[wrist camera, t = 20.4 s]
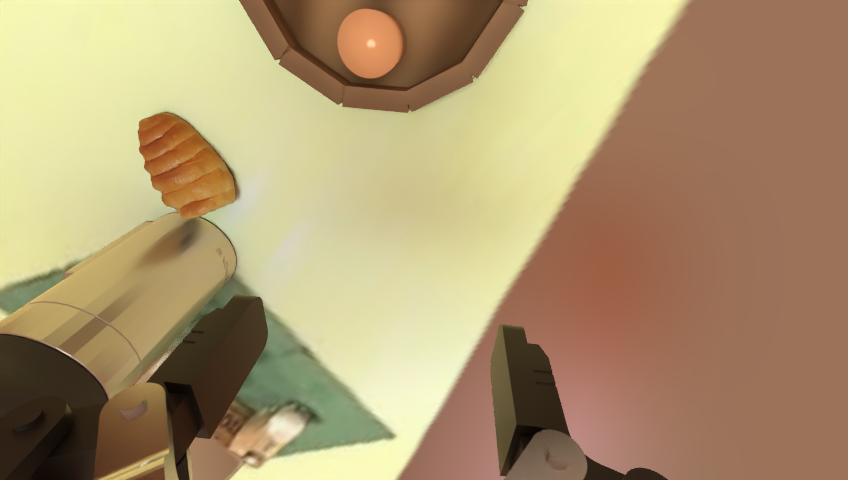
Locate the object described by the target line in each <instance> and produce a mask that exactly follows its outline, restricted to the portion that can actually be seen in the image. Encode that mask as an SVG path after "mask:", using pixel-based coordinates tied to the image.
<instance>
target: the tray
mask: <svg viewBox="0 0 848 480" xmlns="http://www.w3.org/2000/svg"><path fill="white" fill-rule="evenodd" d="M239 1H240V2H241V4H242V6H243V7H244V9H245V11H246V12H247V14H248V16H249V17H250V19H251V21H252V23H253V24H254V26H255V28H256V29H257V31H258V33H259V34H260V36H261V38H262V39H263V41H264V43H265V44H266V46H267V48H268V49H269V51H270V53H271V54H272V56H273V58H274V59H275V60H278V59H281V60H280V62H279V65H281V66H282V67H284V68H285V69H287V70H288V71H290V72H291V73H292V74H294V75H295V76H297V77H298V78H300V79H301V80H303V81H304V82H306V83H307V84H308V85H310V86H311V87H313V88H314V89H316V90H317V91H319V92H320V93H322V94H323V95H324V96H326V97H327V98H329V99H330V100H332V101H333V102H335V103H336V104H338V105H339V104H340V103H342V104H343V107H352V108H363V109H374V110H384V111H395V112H406V113H407V112H408V111H409V109H411V111H412V112H413V111H415V110H417V109H419V108H421V107H423V106H425V105H427V104H429V103H431V102H433V101H435V100H437V99H439V98H441V97H443V96H445V95H447V94H449V93H451V92H453V91H455V90H457V89H459V88H461V87H464V86H466V85H468V84H470V83H472V82H473V79H472V76H471V74H472V75H473V76H475V77H476V78H478V76H479V75H480V74H481V72H482V71H483V69H484V68H485V66H486V65H487V64H488V62H489V61H490V59H491V58H492V57H493V55H494V54H495V52H496V51H497V49H498V48H499V47H500V45H501V44H502V42H503V41H504V39H505V38H506V37H507V35H508V34H509V32H510V31H511V30H512V28H513V27H514V25H515V24H516V22H517V21H518V20H519V18H520V17H521V15H522V14H523V12H524V10H522V9H521V8H520V7H519V6H521V7H523V6H526V5H527V2H528V0H239ZM359 9H372V10H378V11H383V12H387V13H389V14H391V15H393V16H394V17H395V18H396V19H397V20H398V21H399V22H400V23H401V25H402V26H403V28H404V31H405V34H406V39H407V47H406V52H405V55H404V57H403V59H402V61H401V62H400V63H399V64H398V65H397V66H396V67H395V68H393V69H392V70H390V71H389V72H387V73H386V74H384V75H383V76H380V77H377V78H363V77H360V76H358V75H356V74H354V73H353V72H352V71H350V70H349V69H348V68H347V66H346V65H345V64H344V62H343V61H342V59H341V56H340V54H339V50H338V44H337V38H338V32H339V28H340V26H341V24H342V22H343V21H344V19H345V18H346V17H347V16H348V15H349V14H351V13H352V12H354V11H356V10H359Z"/></svg>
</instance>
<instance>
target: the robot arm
mask: <svg viewBox="0 0 848 480" xmlns="http://www.w3.org/2000/svg"><path fill="white" fill-rule="evenodd" d="M235 268H236V255H235V252H234V249H233V247H232V245H231V243H230V242H229V240H228V239H227V238H226V236H225V235H224V234H223V233H222V232H221V231H220V230H219V229H218V228H217V227H215V226H214V225H212V224H211V223H209V222H208V221H206V220H204V219H202V218H200V217H195V218H190V219H182V218H181V217H180V214H179V213H171V214H167V215H164V216H162V217H160V218H159V219H157V220H156V221H154V222H144V223H142V224H141V225H139V226H138V227H136V228H134V229H133V230H131V231H130V232H128V233H127V234H125V235H123V236H122V237H120V238H119V239H117V240H115V241H114V242H112V243H111V244H109V245H108V246H106V247H104V248H103V249H101V250H100V251H98V252H96V253H95V254H93V255H92V256H90V257H89V258H87V259H85V260H84V261H82V262H81V263H79V264H77V265H76V266H74V267H73V268H71V269H70V270H68V271H67V272H65V274H64V276H63V279H64V280H63V281H61V282H60V283H58V284H57V285H55V286H54V287H52V288H51V289H49V290H47V291H46V292H44V293H43V294H41V295H40V296H38V297H37V298H35V299H34V300H32V301H30V302H29V303H27V304H26V305H24V306H23V307H21V308H20V309H19V310H17V311H15V312H14V313H12V314H11V315H9V316H8V317H6V318H5V319H3V320H2V321H0V480H193V476H192V467H191V459H190V452H189V449H188V448H189V446H190V445H191V443H192V441H193V440H194V438H195V437H198V438H207V439H210V438H211V437H212V435H213V433H214V432H215V430H216V428H217V427H218V425H219V423H220V422H221V420H222V418H223V417H224V415H225V413H226V412H227V410H228V408H229V406H230V405H231V403H232V401H233V400H234V398H235V396H236V395H237V393H238V391H239V390H240V388H241V386H242V385H243V383H244V381H245V380H246V378H247V376H248V375H249V373H250V371H251V370H252V368H253V366H254V365H255V363H256V361H257V360H258V358H259V356H260V355H261V353H262V351H263V349H264V347H265V345H266V342H267V337H268V329H267V324H266V318H265V313H264V307H263V302H262V299H261V298H260V297H255V296H246V295H235V296H234V297H233V298H232V299H231V300H230V301H229V302H228V304H227V305H226V306H225V307H224V309H220V308H217V309H215V310H214V311H212V312H211V313H209V314H208V315H206V316H205V317H203V318H202V319H201V320H200V321H199V322H198V323H197V325H196V326H195V327H194V328H193V329H192V331H191V333H189V334H188V335H187V336H186V337H185V338H184V339H183V342H182V343H180V344H179V345H178V346H177V348H176V349H175V350H174V351H173V352H172V353H171V354H170V356H169V357H168V358H167V359H166V360H165V361H164V362H163V364H162V365H161V366H160V367H159V368H158V369H157V370H156V372H155V373H154V374H153V375H152V376H151V377H150V379H149V380H148V381H147V382H146V383H140V384H136V383H137V381H138V380H139V379H140V378H141V377H142V376H143V375H144V374H145V373H146V371H147V370H148V369H149V368H150V367H151V366H152V365H153V364H154V363H155V361H156V360H157V359H158V358H159V357H160V356H161V355H162V354H163V352H164V351H165V350H166V349H167V348H168V347H169V346H170V345H171V344H172V342H173V341H174V340H175V339H176V338H177V337H178V336H179V335H180V334H181V332H182V331H183V330H184V329H185V328H186V327H187V326H188V325H189V323H190V322H191V321H192V320H193V319H194V318H195V317H196V316H197V315H198V313H199V312H200V311H201V310H202V309H203V308H204V307H205V306H206V305H207V303H208V302H209V301H210V300H211V299H212V298H213V297H214V296H215V294H216V293H217V292H218V291H219V290H220V289H221V288H222V287H223V285H224V284H225V283H226V282H227V281H228V280H229V279H230V278H231V277H232V275H233V273H234V271H235ZM135 384H136V385H135ZM491 384H492V394H493V405H494V416H495V427H496V437H497V448H498V457H499V469H500V475H501V476H506V477H505V479H504V480H668V479H666V478H665V477H663V476H662V475H660V474H659V473H657V472H655V471H652V470H650V469H645V468H635V469H631V470H630V471H628V472H627V474H626V475H624V474H622V473H619V472H617V471H615V470H613V469H610V468H608V467H605V466H603V465H601V464H599V463H597V462H595V461H593V460H592V459H590V458H589V457H587V456H586V455H585V454H584V453H583V451H582V449H581V448H580V446H579V445H578V444H577V443H576V442H575V441H574V440H573V439H572V438H571V436H570V434H569V431H568V428H567V424H566V420H565V417H564V413H563V409H562V406H561V402H560V399H559V395H558V391H557V388H556V387H555V381H554V377H553V375H552V369H551V365H550V362H549V358H548V357H547V355H546V354H545V353H544V351H543V350H542V349H541V347H540V346H539V345H537V344H528V343H527V340H526V335H525V331H524V328H523V327H521V326H512V325H503V324H500V326H499V328H498V332H497V337H496V341H495V345H494V350H493V353H492V358H491Z"/></svg>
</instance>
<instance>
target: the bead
mask: <svg viewBox="0 0 848 480" xmlns="http://www.w3.org/2000/svg"><path fill="white" fill-rule="evenodd" d="M337 44H338V50H339V54H340V56H341V59H342V61H343V62H344V64H345V65H346V66H347V68H348V69H349V70H350V71H352V72H353V73H354V74H356V75H358V76H360V77H363V78H377V77H380V76H383V75H384V74H386V73H387V72H389V71H390V70H392V69H393V68H395V67H396V66H397V65H398V64H399V63H400V62H401V61H402V59H403V57H404V55H405V52H406V47H407V39H406V34H405V31H404V28H403V26H402V25H401V23H400V22H399V21H398V20H397V19H396V18H395V17H394V16H393V15H391V14H389V13H387V12H383V11H378V10H372V9H359V10H356V11H354V12H352V13H351V14H349V15H348V16H347V17H346V18H345V19H344V21H343V22H342V24H341V26H340V28H339V32H338V38H337Z"/></svg>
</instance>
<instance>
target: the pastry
mask: <svg viewBox="0 0 848 480" xmlns="http://www.w3.org/2000/svg"><path fill="white" fill-rule="evenodd" d="M138 135H139V141H140V147H139V151H140V153H141V154H142V155H143V157H144V159H145V165H144V168H145V170H146V171H147V172H149V173H150V175H151V181H152V185H153V188H155V189H156V190H158V191H161V193H162V201H163V202H164V204H165V205H166V206H169V207H172V208H175V209H176V210H177V211H178V213H179V214H180V217H181V218H182V219H190V218H195V217H199V216H202V215H205V214H206V213H208V212H210V211H214V210H216V209H218V208H220V207H222V206H225V205H227V204H230V203H233V202H234V201H235V188H234V180H233V176H232V175H231V173H230V172H229V170H228V168H227V166H226V164H225V162H224V161H223V160H222V159H221V158H220V156H219V155H218V154H217V153H216V152H215V151H214V149H213V148H212V147H211V146H210V145H209V144H208V143H207V142H206V141H205V140H204V139H203V137H202V136H201V135H200V134H199V133H198V132H197V131H196V130H195V129H194V128H193V127H192V126H191V125H190V124H188V123H187V122H185V121H183V120H182V119H180V118H179V117H178V116H176V115H173V114H170V113H160V114H156V115H153V116H151V117H148V118H145V119H142V120H141V121H140V122H139V130H138Z"/></svg>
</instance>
